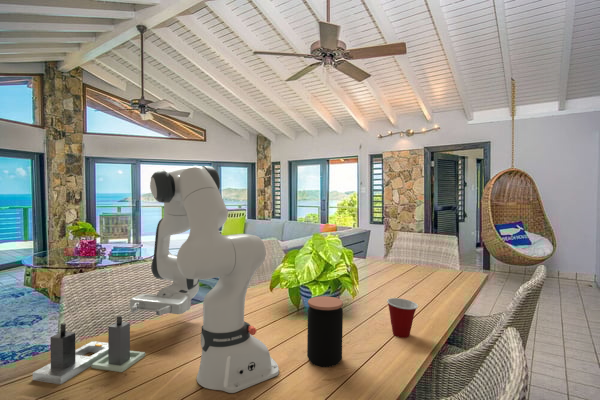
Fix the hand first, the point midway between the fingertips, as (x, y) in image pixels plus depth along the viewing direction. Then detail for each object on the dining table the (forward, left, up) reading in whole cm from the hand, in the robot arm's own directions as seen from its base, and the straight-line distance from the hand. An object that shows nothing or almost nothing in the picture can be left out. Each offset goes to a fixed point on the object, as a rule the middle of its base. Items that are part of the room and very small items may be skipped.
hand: (145, 311), depth 115 cm
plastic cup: (-82, +33, -11) cm, 89 cm away
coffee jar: (-47, +36, -11) cm, 60 cm away
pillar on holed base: (+18, +6, -11) cm, 22 cm away
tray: (+8, +10, -11) cm, 17 cm away
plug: (+8, +10, -11) cm, 16 cm away
